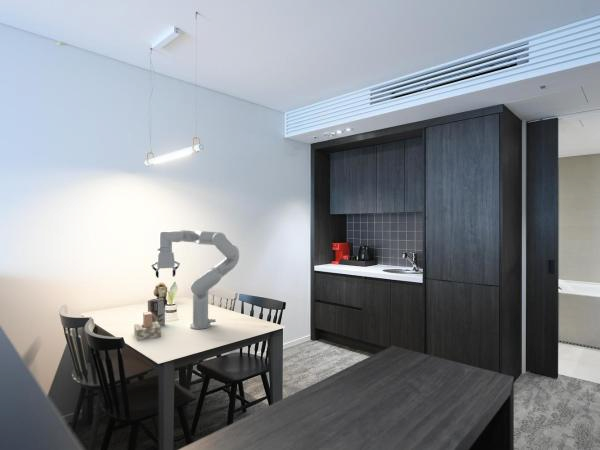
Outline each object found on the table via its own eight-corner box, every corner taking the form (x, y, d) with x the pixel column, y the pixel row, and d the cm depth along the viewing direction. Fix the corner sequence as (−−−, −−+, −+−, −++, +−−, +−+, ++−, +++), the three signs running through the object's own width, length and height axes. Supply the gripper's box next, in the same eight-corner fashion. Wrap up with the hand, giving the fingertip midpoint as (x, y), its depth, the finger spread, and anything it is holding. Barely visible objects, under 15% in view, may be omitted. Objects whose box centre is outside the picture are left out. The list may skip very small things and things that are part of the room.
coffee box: (165, 324, 239) (165, 299, 239) (157, 326, 233) (157, 301, 233) (155, 322, 243) (155, 298, 243) (147, 325, 237) (147, 300, 237)
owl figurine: (148, 302, 300) (148, 282, 300) (162, 300, 308) (162, 280, 308) (157, 306, 287) (157, 284, 287) (172, 304, 296) (172, 283, 296)
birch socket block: (157, 330, 226) (157, 321, 226) (160, 336, 214) (160, 327, 214) (134, 333, 219) (134, 324, 219) (136, 339, 208) (136, 330, 208)
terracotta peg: (152, 334, 215) (152, 313, 215) (144, 335, 213) (144, 314, 213) (150, 331, 221) (150, 311, 220) (143, 332, 218) (143, 312, 218)
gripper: (151, 251, 223) (151, 278, 223) (181, 250, 232) (181, 276, 232) (150, 250, 230) (150, 277, 230) (178, 249, 238) (178, 275, 239)
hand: (165, 277), depth 231 cm, fingers open, 9 cm apart
